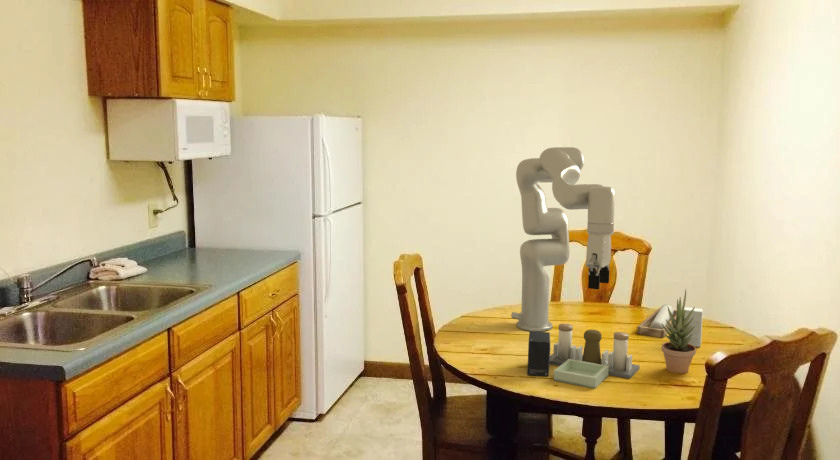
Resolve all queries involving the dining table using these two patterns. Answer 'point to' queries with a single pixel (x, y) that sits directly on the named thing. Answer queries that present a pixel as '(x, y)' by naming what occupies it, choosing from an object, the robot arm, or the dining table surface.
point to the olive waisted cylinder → (592, 347)
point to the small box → (538, 353)
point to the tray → (581, 373)
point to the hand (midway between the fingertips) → (598, 285)
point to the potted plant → (678, 341)
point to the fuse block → (615, 360)
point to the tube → (662, 317)
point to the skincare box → (698, 326)
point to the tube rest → (646, 330)
